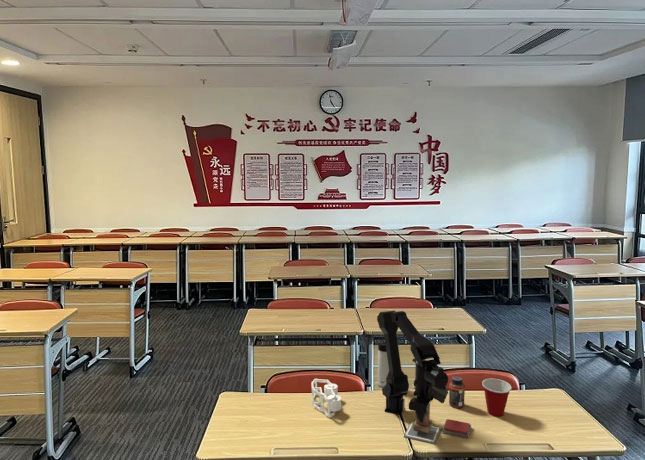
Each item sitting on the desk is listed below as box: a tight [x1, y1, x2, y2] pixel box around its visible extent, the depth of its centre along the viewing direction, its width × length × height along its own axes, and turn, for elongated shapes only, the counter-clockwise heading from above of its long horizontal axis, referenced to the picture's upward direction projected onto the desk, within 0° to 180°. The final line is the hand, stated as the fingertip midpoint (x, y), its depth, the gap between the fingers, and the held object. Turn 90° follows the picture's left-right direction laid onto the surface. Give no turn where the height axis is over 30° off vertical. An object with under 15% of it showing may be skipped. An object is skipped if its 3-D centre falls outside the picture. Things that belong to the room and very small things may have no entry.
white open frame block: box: [311, 378, 342, 419], centre depth 186 cm, size 20×11×7 cm, turn 6°
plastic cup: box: [481, 377, 513, 418], centre depth 178 cm, size 11×11×12 cm
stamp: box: [413, 402, 433, 434], centre depth 164 cm, size 6×6×9 cm
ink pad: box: [441, 418, 472, 439], centre depth 167 cm, size 9×8×2 cm
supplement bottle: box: [448, 376, 466, 409], centre depth 186 cm, size 6×6×11 cm
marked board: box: [403, 421, 442, 445], centre depth 165 cm, size 11×11×1 cm
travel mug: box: [377, 341, 389, 389], centre depth 204 cm, size 6×7×20 cm
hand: (422, 419), depth 164 cm, fingers closed on stamp, 4 cm apart
